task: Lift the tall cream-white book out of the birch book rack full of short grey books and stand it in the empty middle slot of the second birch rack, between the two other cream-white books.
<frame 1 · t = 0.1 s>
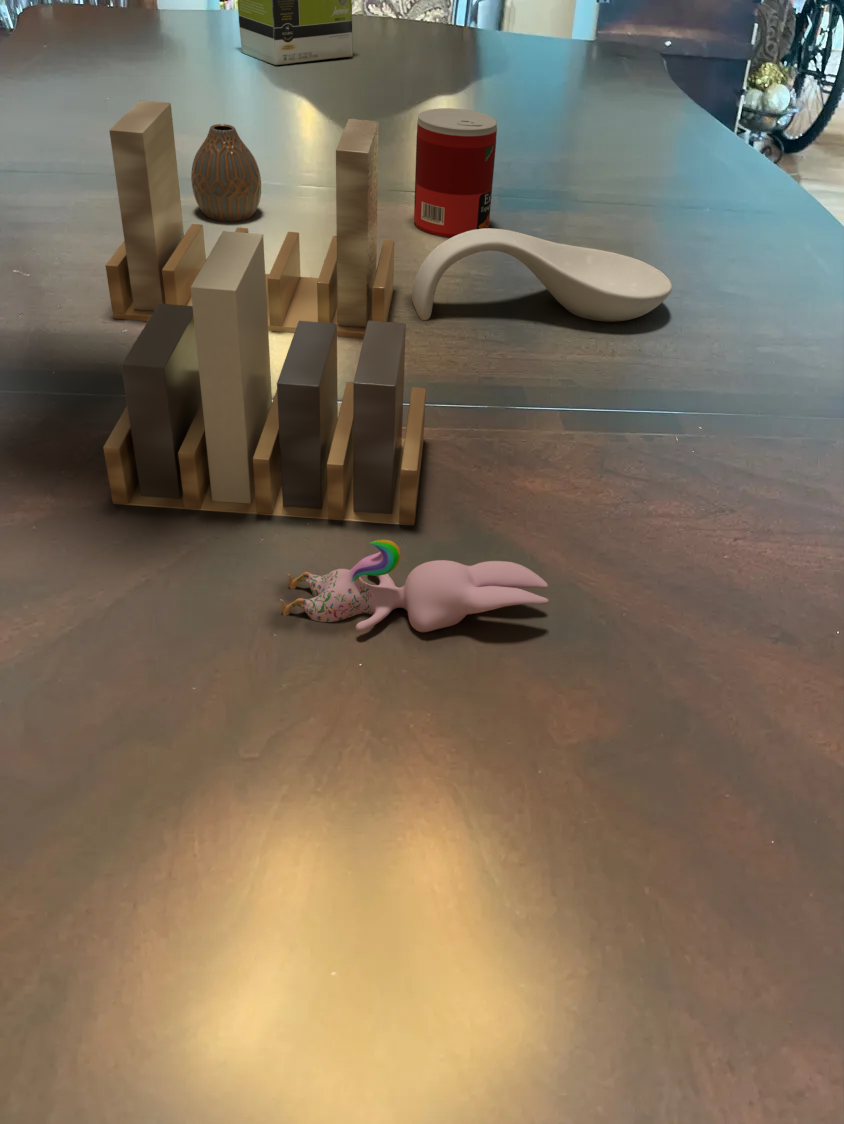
white rack: (260, 308, 92), on the table
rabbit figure: (413, 624, 61), on the table
vase: (229, 220, 109), on the table
canned food: (450, 232, 112), on the table
spoon rest: (541, 315, 97), on the table
white book: (244, 466, 70), point 1 cm above the table, touching grey rack
tea box: (296, 57, 167), on the table
grey rack: (278, 481, 71), on the table
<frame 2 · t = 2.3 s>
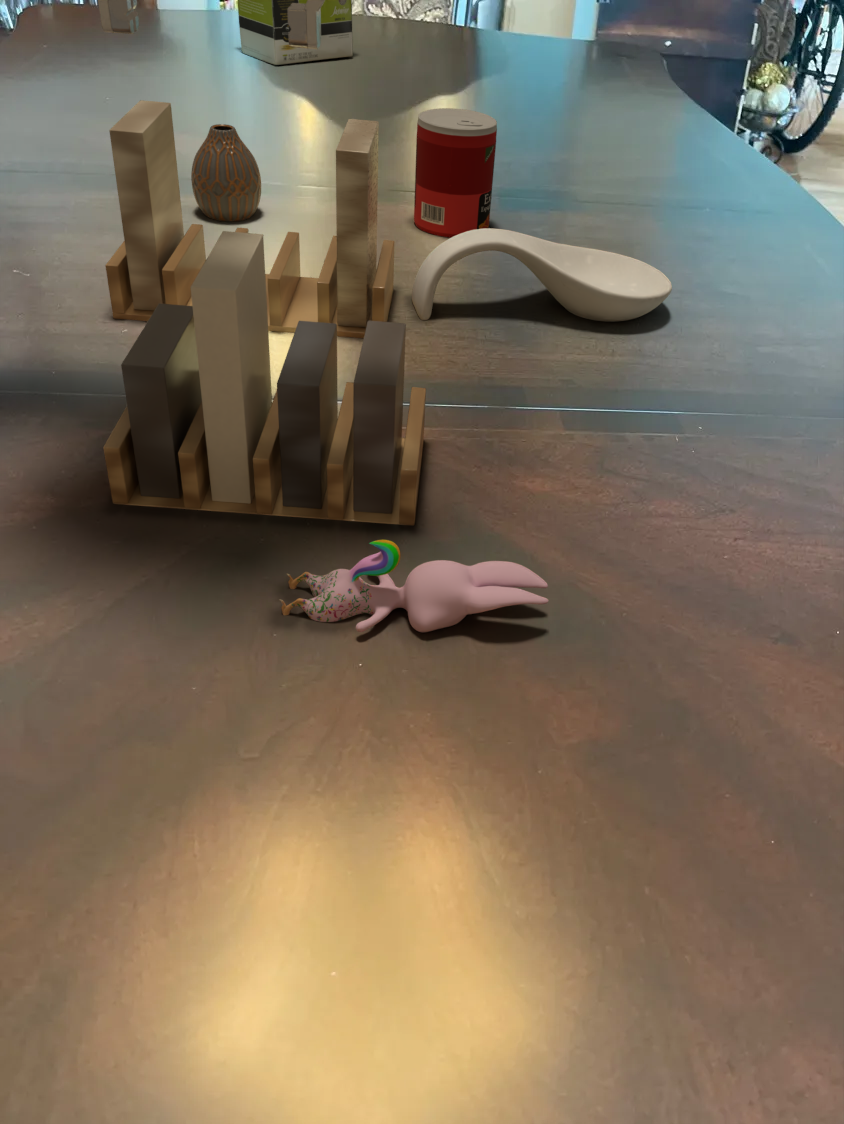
hand: (213, 39, 54), 26 cm above the table, tool pointing down, fingers open, 8 cm apart
nothing on the table moved.
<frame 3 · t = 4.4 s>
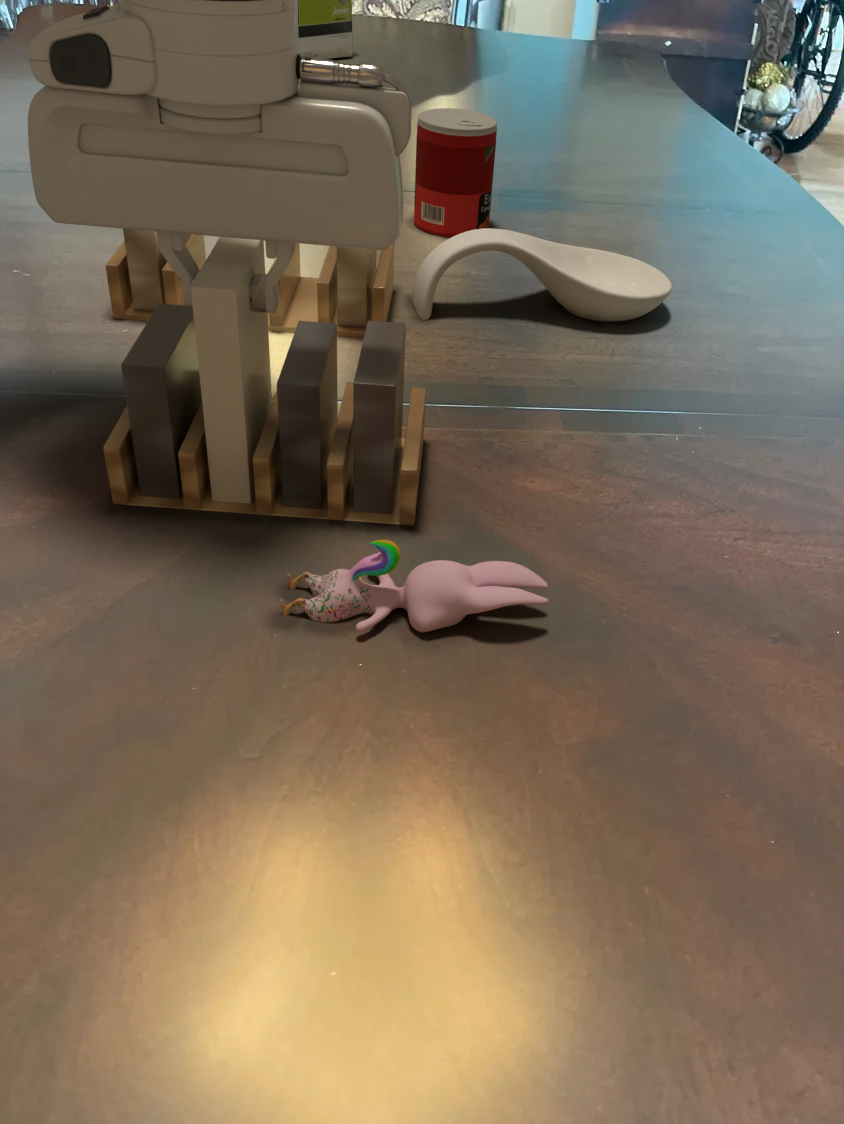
hand: (232, 306, 63), 12 cm above the table, tool pointing down, fingers closed on white book, 2 cm apart
white book: (244, 466, 70), point 1 cm above the table, touching grey rack, gripper
everything else where it was.
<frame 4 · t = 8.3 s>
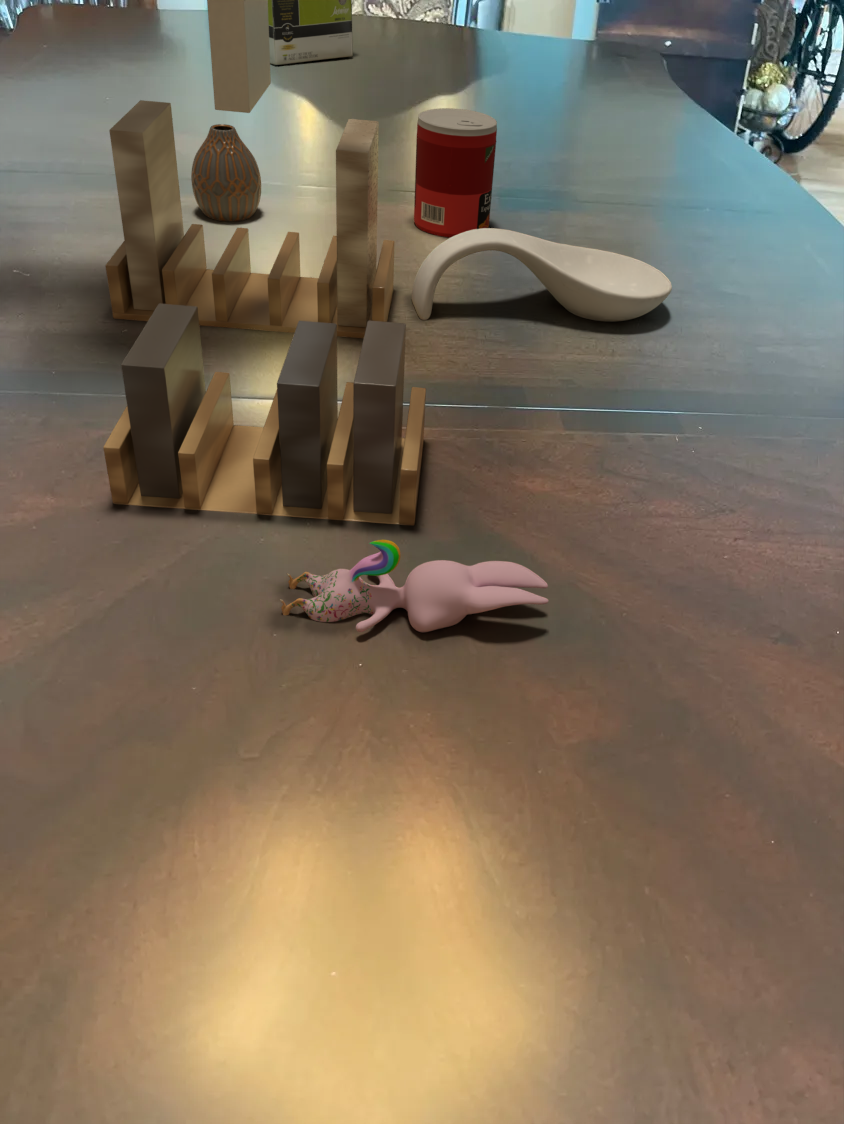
white book: (244, 96, 79), point 18 cm above the table, touching gripper
everything else where it was.
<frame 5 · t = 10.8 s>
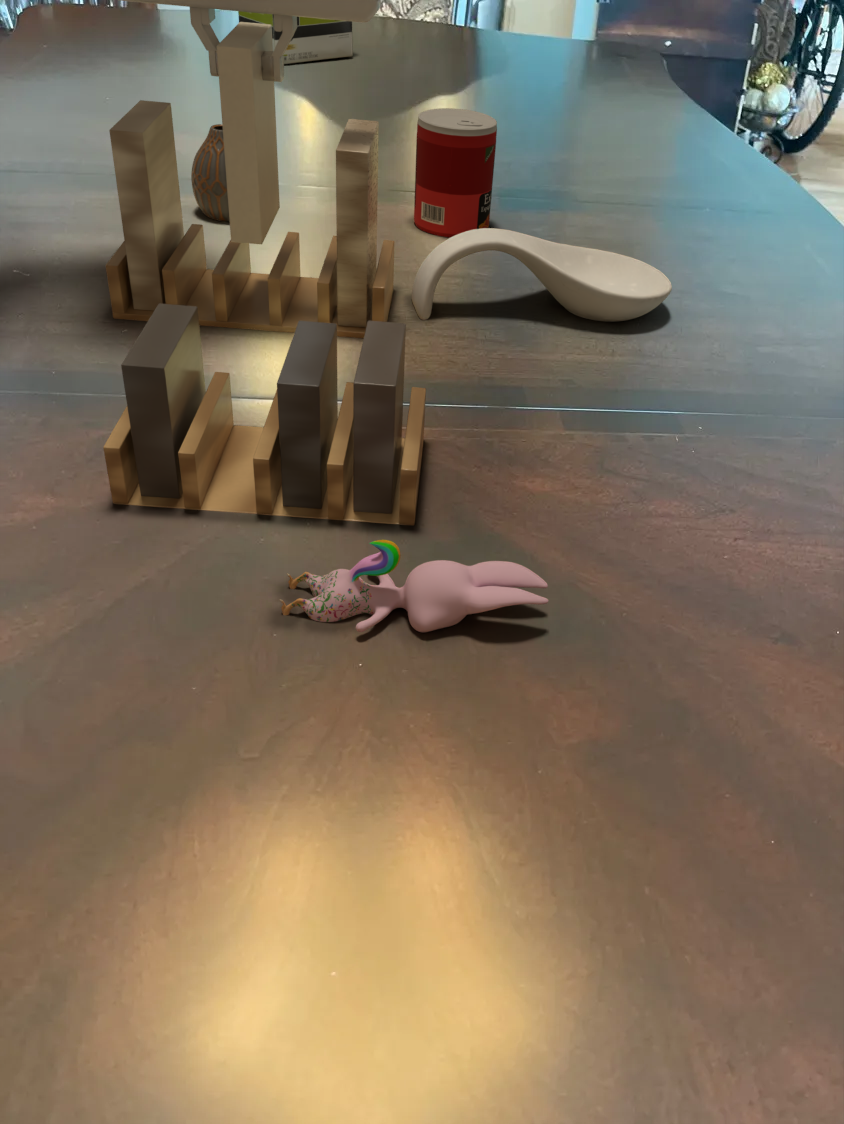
hand: (247, 77, 81), 18 cm above the table, tool pointing down, fingers closed on white book, 2 cm apart
white book: (256, 224, 88), point 7 cm above the table, touching gripper
everything else where it was.
when the fingers open (12 cm above the table, at t = 12.5 s): white book stays where it is, resting on white rack.
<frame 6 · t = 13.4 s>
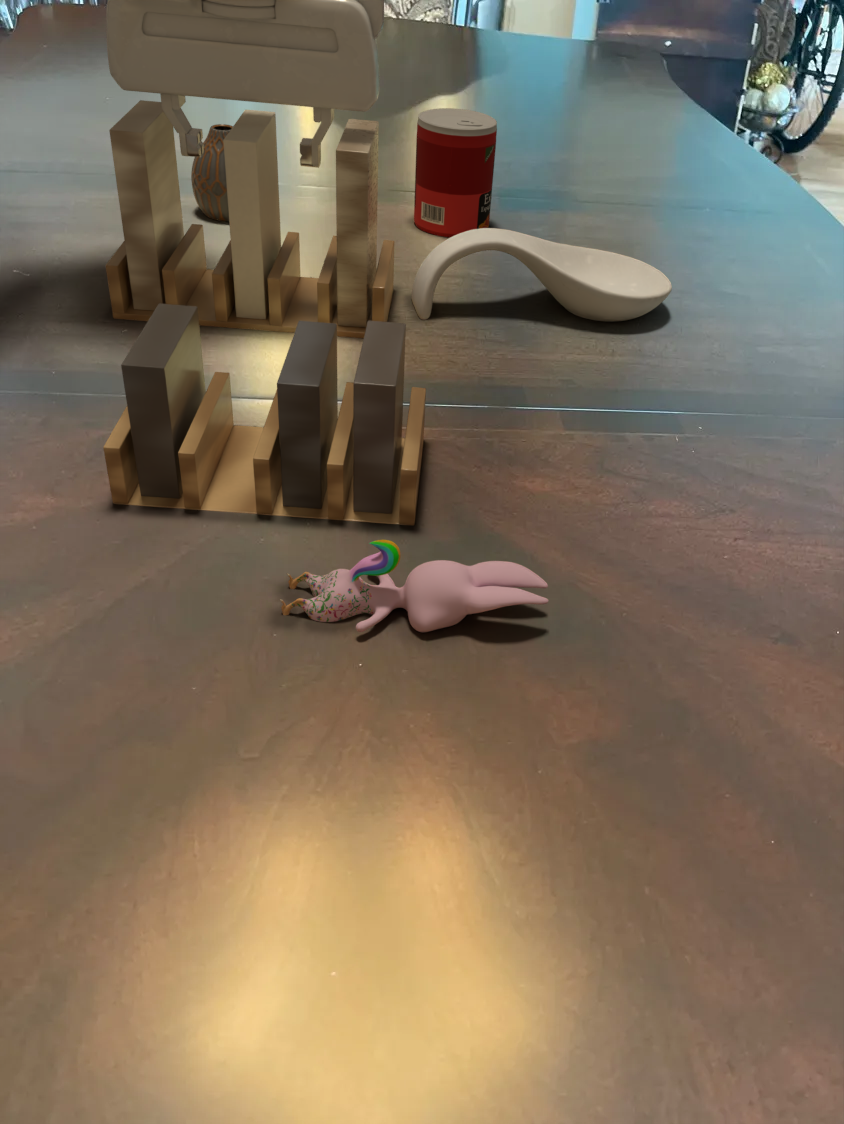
hand: (251, 160, 84), 12 cm above the table, tool pointing down, fingers open, 8 cm apart
white book: (260, 297, 92), point 1 cm above the table, touching white rack
everything else where it was.
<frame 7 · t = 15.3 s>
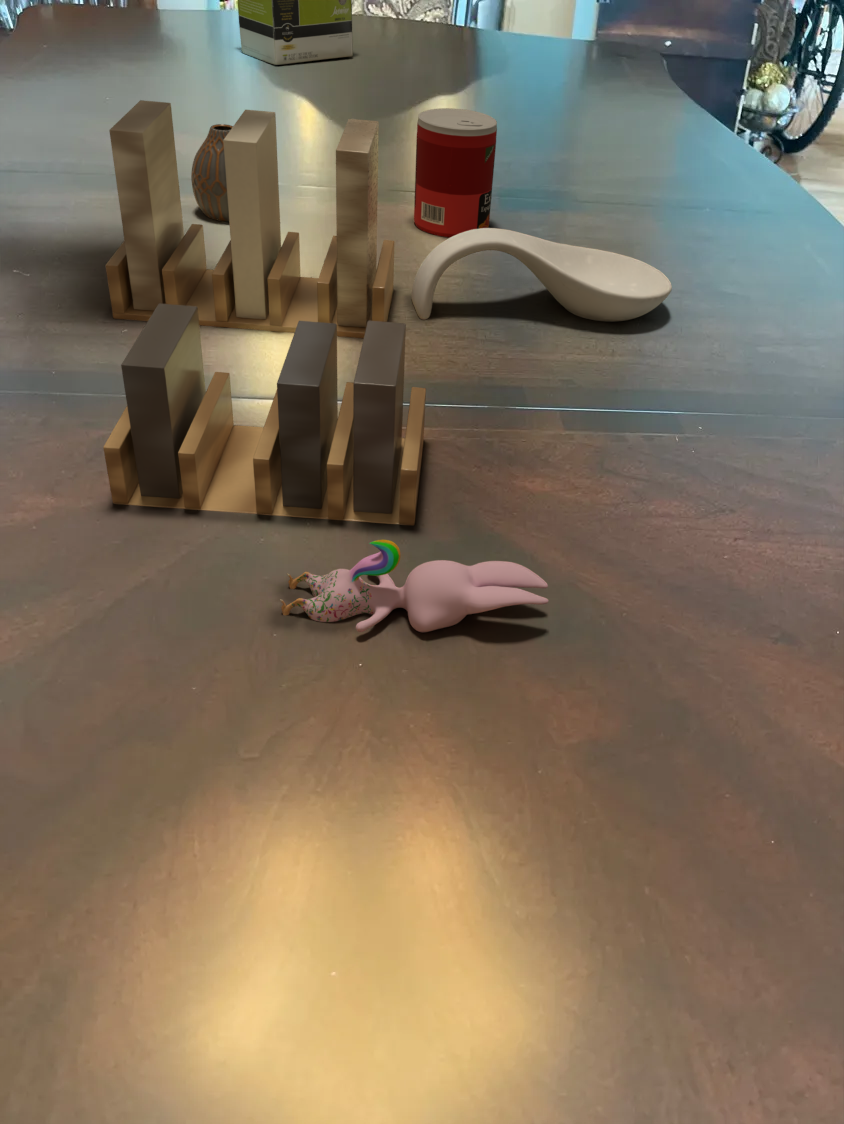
nothing on the table moved.
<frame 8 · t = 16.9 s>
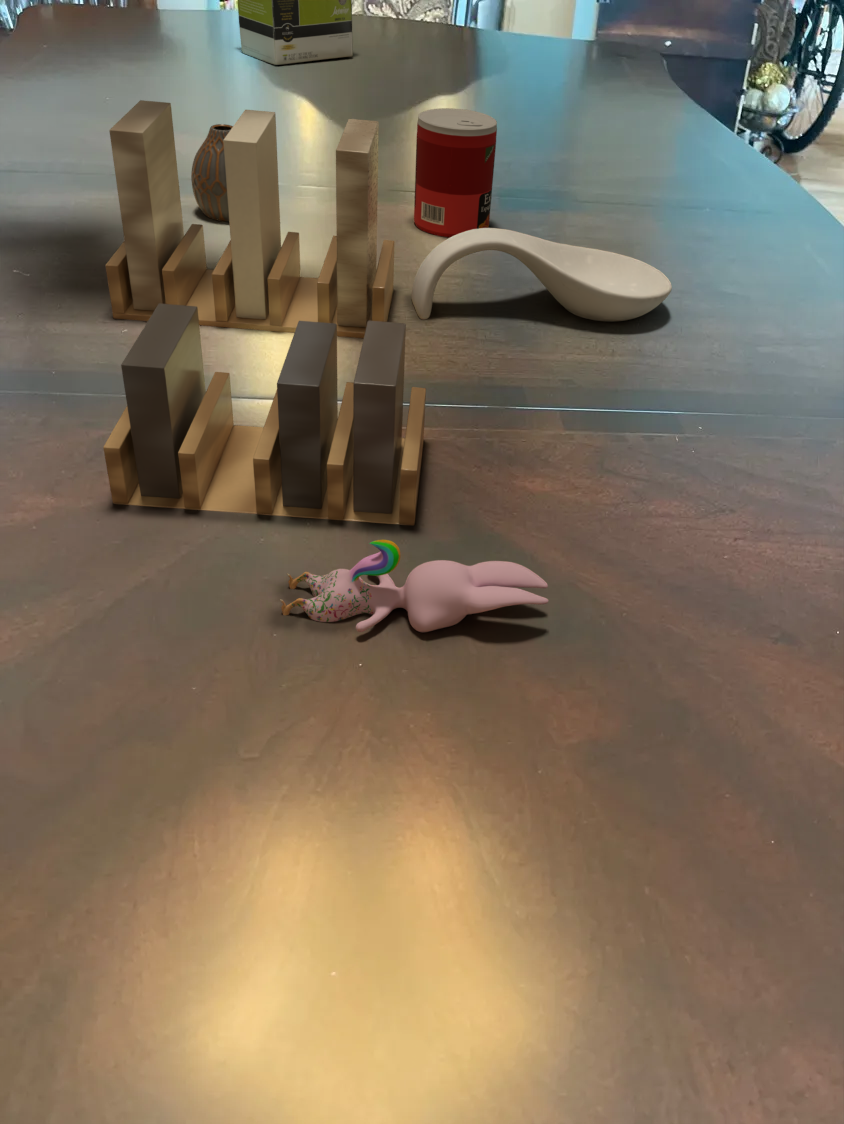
nothing on the table moved.
at the end: white book 0.0 cm off-centre on the white rack, point 1.0 cm above the white rack's base; white book tilted 0°; the gripper is holding nothing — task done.
